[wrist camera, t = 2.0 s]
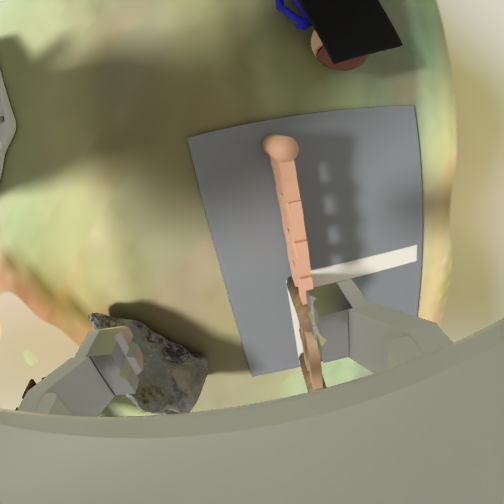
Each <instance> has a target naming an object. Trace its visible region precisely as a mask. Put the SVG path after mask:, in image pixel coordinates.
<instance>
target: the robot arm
mask: <svg viewBox="0 0 504 504" xmlns="http://www.w3.org/2000/svg"><path fill="white" fill-rule="evenodd" d="M3 118H4V122H3ZM15 131H16V120H15V117H14V114H13V111H12V108H11V105H10V102H9V99H8V95H7V92H6V89H5V85H4V82H3V78H2V74H1V70H0V179H1V175H2V170H3V163H4V157H5V153H6V150H7V148H8V146H9V144H10V142H11V141H12V138H13V136H14V134H15ZM306 300H307V304H308V306H309V309H310V311H309V313H308V315H309V321H310V326H311V331H312V334H313V337H314V340H315V341H317V344H318V350H319V353H320V355H321V358H322V360H323V363H325V362H329V361H333V360H337V359H341V358H345V357H349V356H350V358H351V359H353V360H354V361H356V362H357V363H359V364H360V365H362V366H363V367H365V368H367V369H368V370H370V371H371V372H373V373H375V374H372V375H369V376H365V377H362V378H359V379H356V380H352V381H349V382H346V383H342V384H339V385H335V386H331V387H328V388H324V389H320V390H316V391H312V392H308V393H304V394H299V395H295V396H290V397H286V398H281V399H276V400H271V401H266V402H261V403H255V404H249V405H243V406H237V407H230V408H224V409H216V410H209V411H200V412H191V413H181V414H169V415H153V416H128V417H98V416H99V415H100V413H101V412H102V411H103V410H104V409H105V408H106V406H107V405H108V404H109V403H110V402H111V400H112V399H113V398H114V397H115V396H114V395H125V394H136V390H137V386H138V383H139V378H138V377H137V375H138V374H139V373H140V372H141V371H142V369H143V355H142V352H141V349H140V347H139V345H137V344H136V343H134V342H133V341H132V339H133V334H132V332H131V330H130V328H129V327H127V326H120V327H112V328H105V329H97V330H92V331H89V332H88V334H87V336H86V337H85V339H84V341H83V343H82V344H81V346H80V348H79V350H78V352H77V353H76V355H75V357H74V358H70V359H69V360H68V361H66V362H65V363H64V364H63V365H61V366H60V367H59V368H57V369H56V370H55V371H53V372H52V373H51V374H49V375H48V376H47V377H45V378H44V379H43V380H42V381H40V382H39V383H38V384H36V385H35V386H34V387H32V388H31V389H30V390H29V391H27V393H26V395H25V397H24V399H23V401H22V402H21V404H20V406H19V408H18V410H17V411H16V410H9V409H2V408H0V504H504V318H503V319H501V320H499V321H497V322H496V323H494V324H492V325H490V326H488V327H486V328H484V329H482V330H480V331H478V332H476V333H474V334H472V335H470V336H468V337H466V338H464V339H461V340H459V341H457V342H455V343H453V342H452V341H451V340H450V339H449V337H448V336H447V335H446V334H445V333H444V332H443V331H442V329H441V328H440V327H439V326H438V325H437V324H436V323H434V322H431V321H428V320H425V319H422V318H419V317H416V316H413V315H410V314H407V313H404V312H401V311H398V310H395V309H392V308H389V307H386V306H383V305H380V304H377V303H369V302H368V301H367V299H366V298H365V297H364V295H363V294H362V293H361V291H360V290H359V289H358V287H357V286H356V285H355V283H354V282H353V281H352V279H347V280H344V281H340V282H337V283H333V284H330V285H326V286H322V287H318V288H315V289H311V290H307V291H306Z"/></svg>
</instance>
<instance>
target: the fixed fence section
mask: <svg viewBox="0 0 504 504" xmlns="http://www.w3.org/2000/svg"><path fill="white" fill-rule="evenodd" d="M287 288H288V291H289V293H290V296H291V299H292V302H293V305H294V308H295V311H296V313H297V317H298V320H299V325H300V329H299V332H300V338H301V341H302V346H303V352H302V353H301V354H300V355H299V361H300V365H301V368H302V372H303V375H304V379H305V382H306V386H307V389H308V392H312V391H316V390H320V389H324V388H326V385H325V382H324V379H323V376H322V370H321V358H320V353H319V350H318V344H317V341H315V340H314V337H313V334H312V331H311V326H310V321H309V315H308V313H309V311H310V309H309V306H308V304H304V305H303V304H302V301H301V299H300V296H299V290H298V287H296V286H295V284H294V281H293V279H292V275H291V276H290V277H289V278H288V279H287Z"/></svg>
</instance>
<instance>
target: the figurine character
mask: <svg viewBox="0 0 504 504" xmlns="http://www.w3.org/2000/svg"><path fill="white" fill-rule="evenodd" d="M292 1H293V2H294V4H295V5H296V6H297V8H298V9H299V11H300V12H301V14H302V15H303V17H304V18H301V17H300V16H298V15H297V14H296V13H294V12H293V11H291V10H290V9H289V8H287V7H286V6H284V0H276V9H277V10H279V11H280V12H282V13H283V14H285V15H286V16H287V17H289V18H290V19H292V20H293V21H294V22H296V27H297V28H298V29H299V30H305V29H307V28H308V27H309V26H313V28H314V31H313V33H312V36H311V48H312V51H313V53H314V55H315V56H316V58H317V59H318V60H319V61H320V62H321V63H322V64H324V65H325V66H327V67H329V68H332V69H335V70H350V69H354V68H356V67H358V66H360V65H361V64H362V63H363V62H364V61H365V60H366V59H367V57H368V55H369V54H372V53H375V52H379V51H383V50H387V49H391V48H396V47H400V46H402V45H403V44H402V42H401V40H400V39H399V37H398V35H397V33H396V31H395V29H394V27H393V25H392V23H391V22H390V20H389V18H388V16H387V14H386V13H385V11H384V9H383V8H382V6H381V4H380V3H379V1H378V0H292Z"/></svg>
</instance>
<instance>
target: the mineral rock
mask: <svg viewBox="0 0 504 504" xmlns="http://www.w3.org/2000/svg"><path fill="white" fill-rule="evenodd" d="M88 316H89V321H90V323H91V326H92V328H93V330H97V329H105V328H112V327H120V326H127V327H129V328H130V330H131V332H132V334H133V339H132V341H133V342H134V343H136V344H137V345H139V347H140V349H141V352H142V355H143V369H142V371H141V372H140V373H139V374H138V375H137V377H138V378H139V383H138V386H137V390H136V394H125V395H126V397H127V398H129V399H130V400H131V402H133V403H134V404H135V405H136V406H138V408H139V409H140V410H141V411H142V412H146V411H148V412H151V413H154V414H156V415H169V414H181V413H189V412H190V411H191V410H192V408H193V407H194V405H195V404H196V402H197V400H198V398H199V396H200V393H201V391H202V387H203V385H204V382H205V379H206V376H207V368H208V361H207V358H206V357H205V356H203V355H201V354H199V355H198V354H196V355H194V354H191V353H190V352H189V351H188V350H186V349H185V348H183V346H182V345H180V344H176V343H174V342H171V341H168V340H167V339H165V338H164V337H163V336H161V335H159V334H157V333H155V332H153V331H151V330H150V329H149V328H148V327H147V326H146V325H145V324H144V323H143V322H139V321H137V320H131V319H122V318H115V317H111V316H107V315H103V314H99V313H91V314H89V315H88Z"/></svg>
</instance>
